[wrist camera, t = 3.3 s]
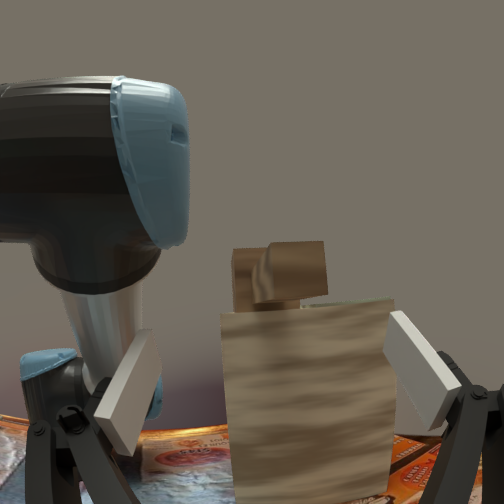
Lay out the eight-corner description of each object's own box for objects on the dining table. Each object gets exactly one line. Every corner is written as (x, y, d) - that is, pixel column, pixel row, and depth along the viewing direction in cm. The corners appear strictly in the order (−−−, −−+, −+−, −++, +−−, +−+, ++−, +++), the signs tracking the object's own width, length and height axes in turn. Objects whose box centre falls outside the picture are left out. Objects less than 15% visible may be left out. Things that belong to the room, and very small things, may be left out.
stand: (386, 491, 29) (393, 295, 35) (237, 512, 29) (219, 310, 35) (353, 447, 47) (352, 301, 52) (242, 460, 47) (232, 310, 53)
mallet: (353, 305, 21) (342, 203, 23) (247, 314, 20) (241, 203, 22) (284, 309, 47) (280, 259, 48) (233, 312, 46) (231, 261, 47)
